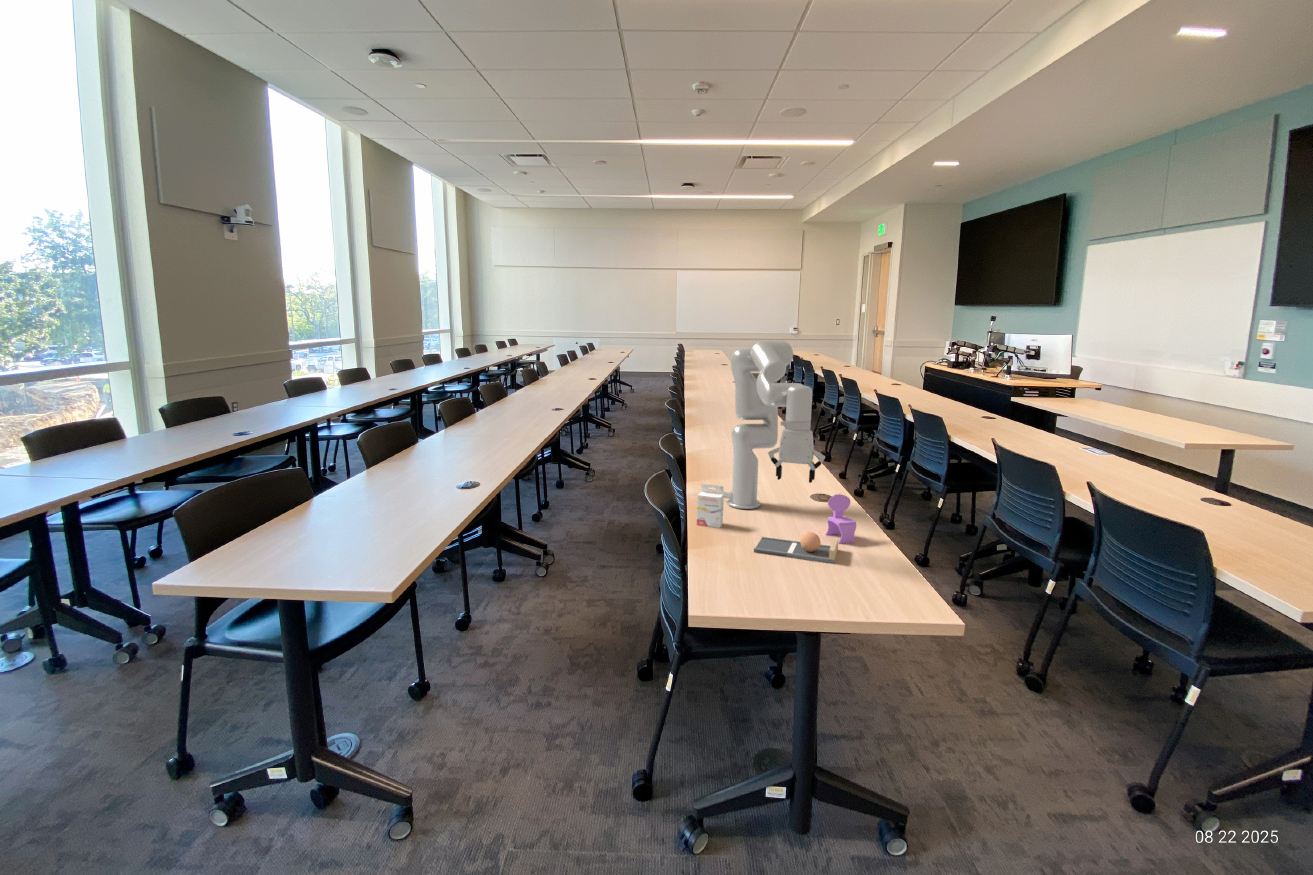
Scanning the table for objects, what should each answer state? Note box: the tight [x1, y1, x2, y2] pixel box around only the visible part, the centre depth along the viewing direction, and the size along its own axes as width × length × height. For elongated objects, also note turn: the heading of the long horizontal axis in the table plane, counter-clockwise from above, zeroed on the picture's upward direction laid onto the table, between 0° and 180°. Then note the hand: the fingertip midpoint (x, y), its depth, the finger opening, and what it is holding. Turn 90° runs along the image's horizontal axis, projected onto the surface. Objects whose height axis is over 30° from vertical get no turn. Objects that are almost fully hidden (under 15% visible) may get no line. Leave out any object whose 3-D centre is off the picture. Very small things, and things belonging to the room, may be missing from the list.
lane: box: [753, 536, 839, 565], centre depth 187 cm, size 24×12×4 cm, turn 68°
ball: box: [800, 531, 822, 552], centre depth 184 cm, size 6×6×6 cm
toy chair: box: [825, 493, 857, 545], centre depth 196 cm, size 8×9×15 cm
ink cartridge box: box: [696, 483, 725, 529], centre depth 209 cm, size 9×5×15 cm, turn 71°
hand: (794, 480), depth 187 cm, fingers open, 9 cm apart
